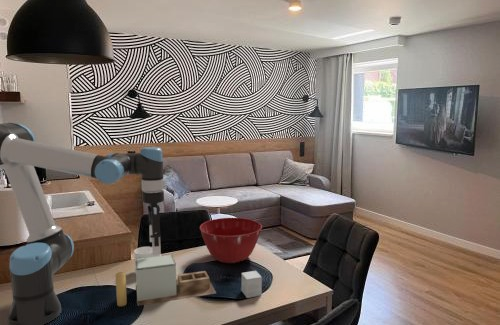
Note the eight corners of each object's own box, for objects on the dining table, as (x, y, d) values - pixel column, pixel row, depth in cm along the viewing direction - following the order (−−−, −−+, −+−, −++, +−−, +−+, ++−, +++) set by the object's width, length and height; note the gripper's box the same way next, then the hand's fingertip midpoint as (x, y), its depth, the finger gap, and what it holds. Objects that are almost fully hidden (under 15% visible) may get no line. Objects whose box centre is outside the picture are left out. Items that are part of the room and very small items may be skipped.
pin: (117, 309, 127) (115, 276, 126) (117, 305, 130) (115, 272, 129) (126, 308, 128) (125, 275, 127) (126, 303, 131) (125, 271, 130)
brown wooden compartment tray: (137, 308, 128) (136, 278, 126) (135, 287, 143) (134, 260, 141) (216, 295, 137) (216, 267, 135) (207, 277, 152) (206, 251, 150)
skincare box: (241, 290, 141) (241, 272, 140) (256, 288, 143) (256, 270, 142) (246, 298, 135) (246, 279, 134) (262, 295, 138) (262, 276, 137)
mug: (165, 269, 160) (165, 246, 158) (162, 277, 152) (162, 253, 150) (137, 269, 159) (136, 246, 157) (132, 278, 151) (131, 254, 149)
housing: (137, 301, 131) (136, 268, 129) (136, 288, 140) (135, 258, 138) (176, 295, 135) (175, 263, 134) (173, 283, 144) (172, 254, 143)
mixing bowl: (192, 251, 179) (192, 220, 177) (246, 243, 191) (246, 214, 189) (211, 275, 154) (211, 239, 152) (272, 263, 166) (272, 230, 164)
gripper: (167, 197, 122) (169, 259, 125) (160, 183, 145) (162, 235, 148) (144, 199, 119) (146, 262, 122) (140, 184, 143) (142, 237, 146)
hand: (155, 247), depth 135 cm, fingers open, 13 cm apart
